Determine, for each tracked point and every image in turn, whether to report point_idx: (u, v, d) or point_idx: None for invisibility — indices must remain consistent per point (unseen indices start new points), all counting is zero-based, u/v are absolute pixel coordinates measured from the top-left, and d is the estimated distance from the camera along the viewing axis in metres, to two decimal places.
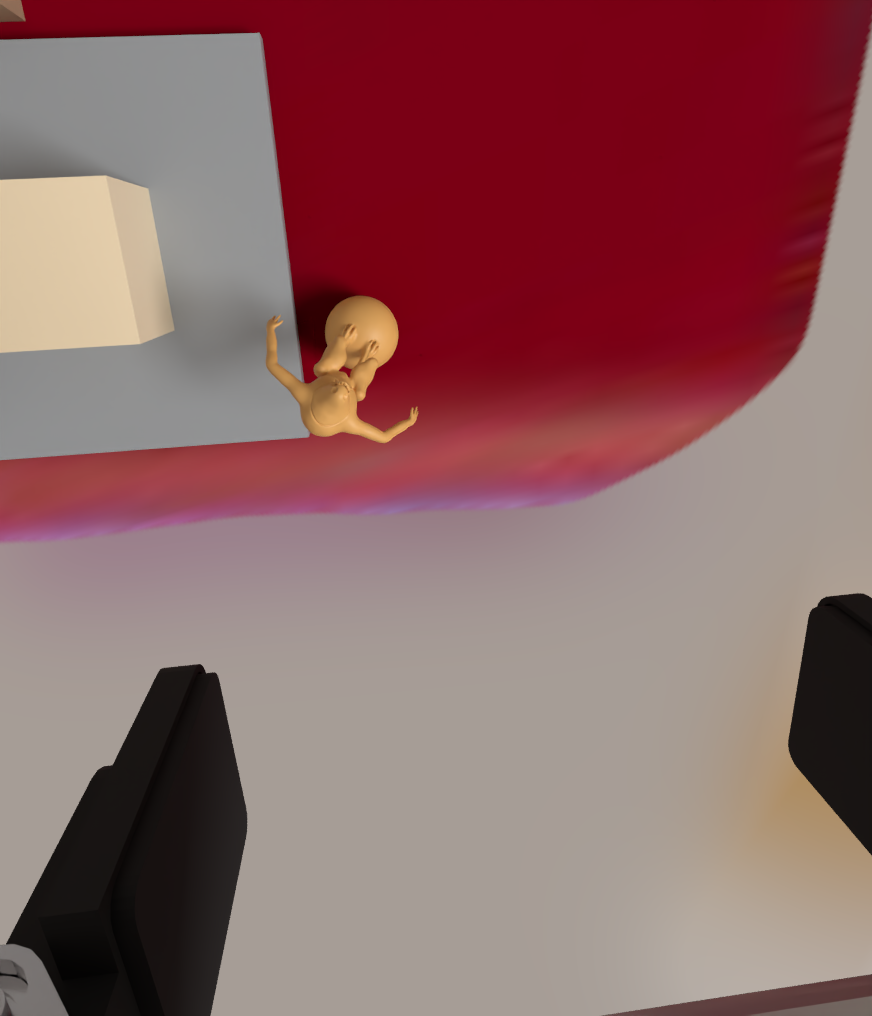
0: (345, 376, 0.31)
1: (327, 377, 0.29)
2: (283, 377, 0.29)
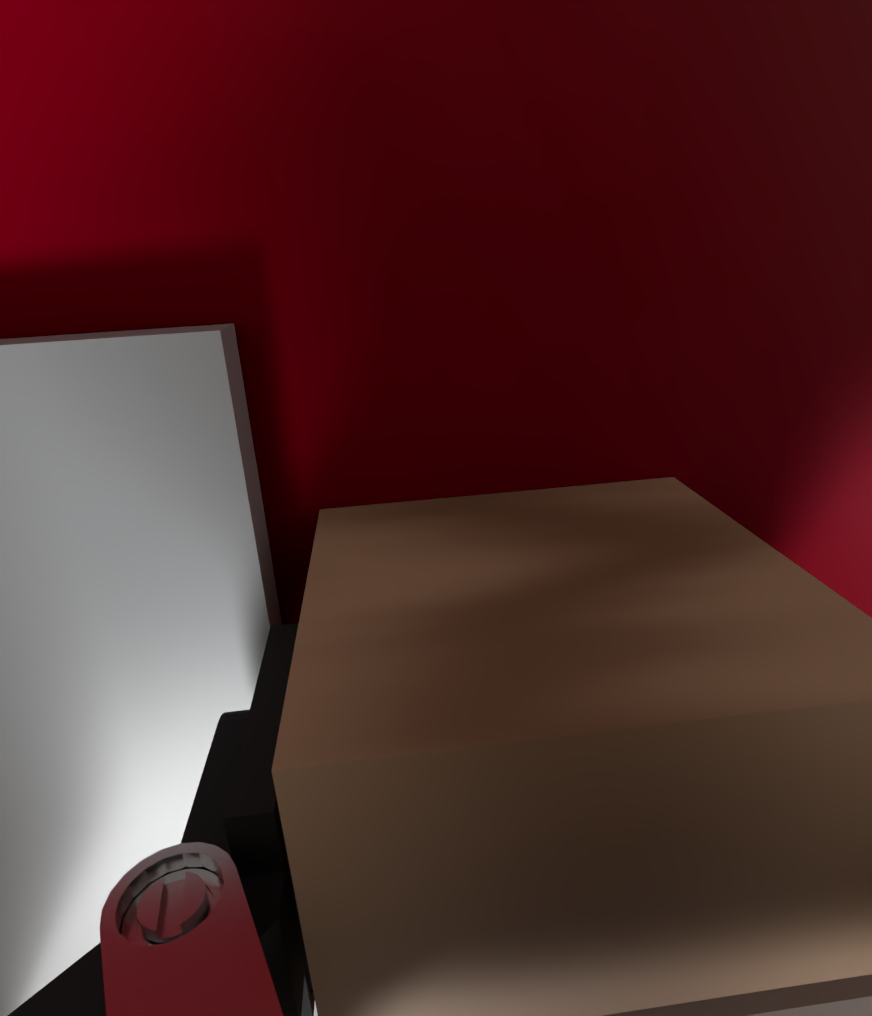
0: None
1: None
2: None
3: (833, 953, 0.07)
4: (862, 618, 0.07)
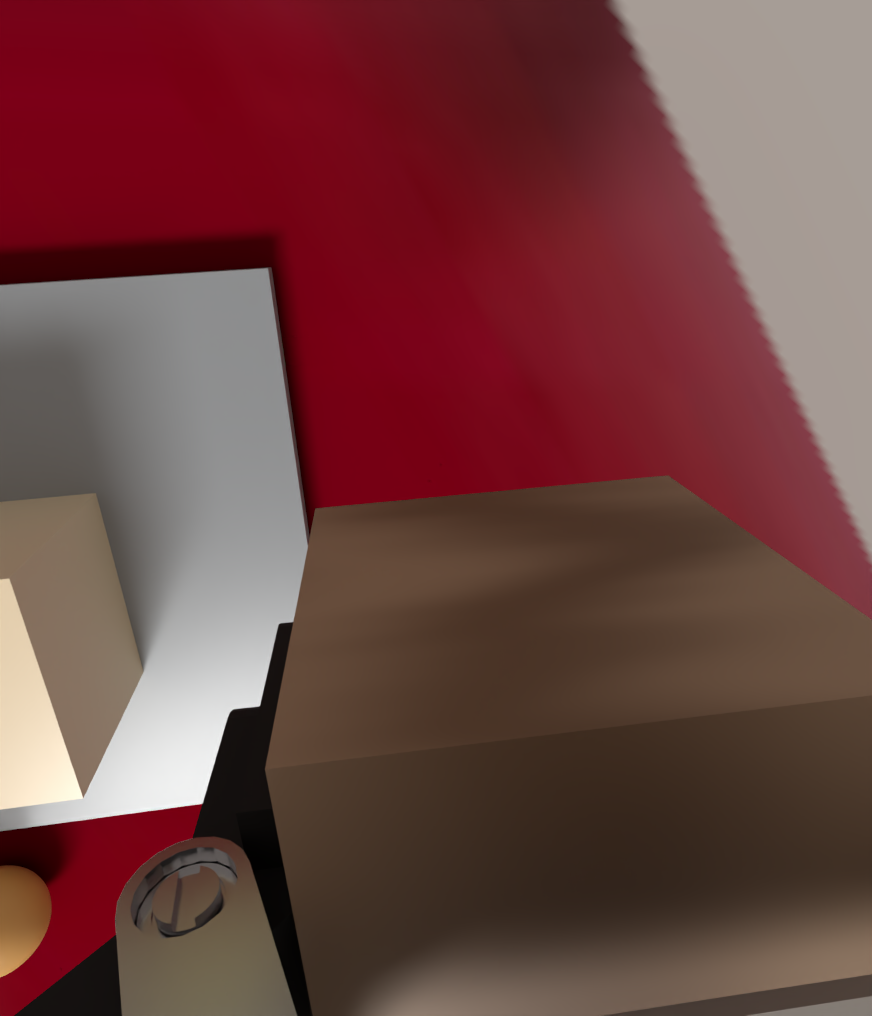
0: None
1: None
2: None
3: (828, 950, 0.07)
4: (855, 615, 0.07)
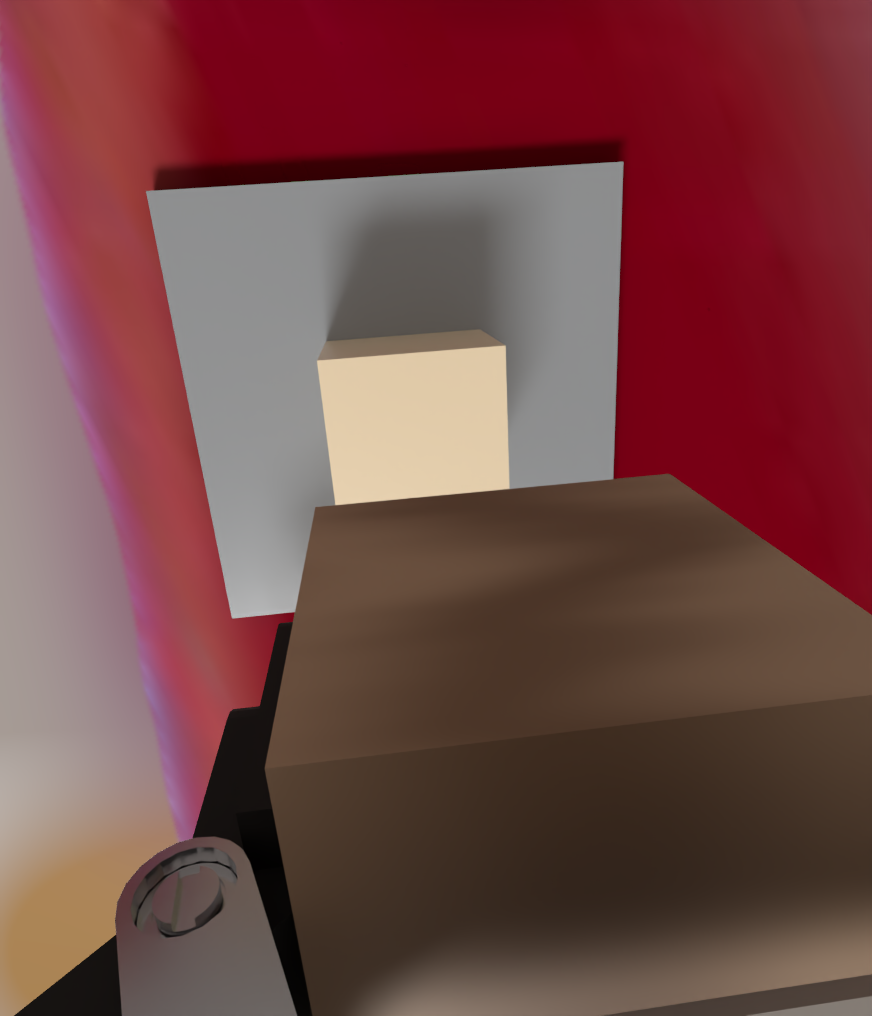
0: None
1: None
2: None
3: (832, 951, 0.07)
4: (859, 613, 0.07)
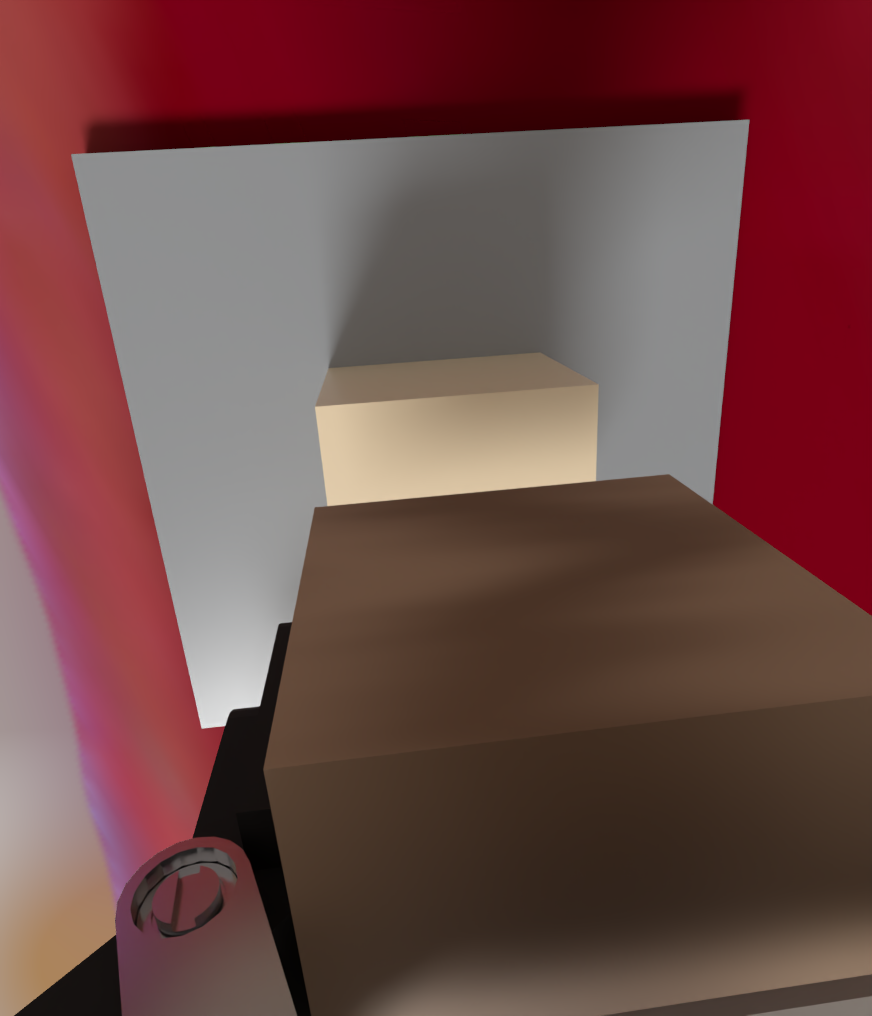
0: None
1: None
2: None
3: (832, 952, 0.07)
4: (860, 614, 0.07)
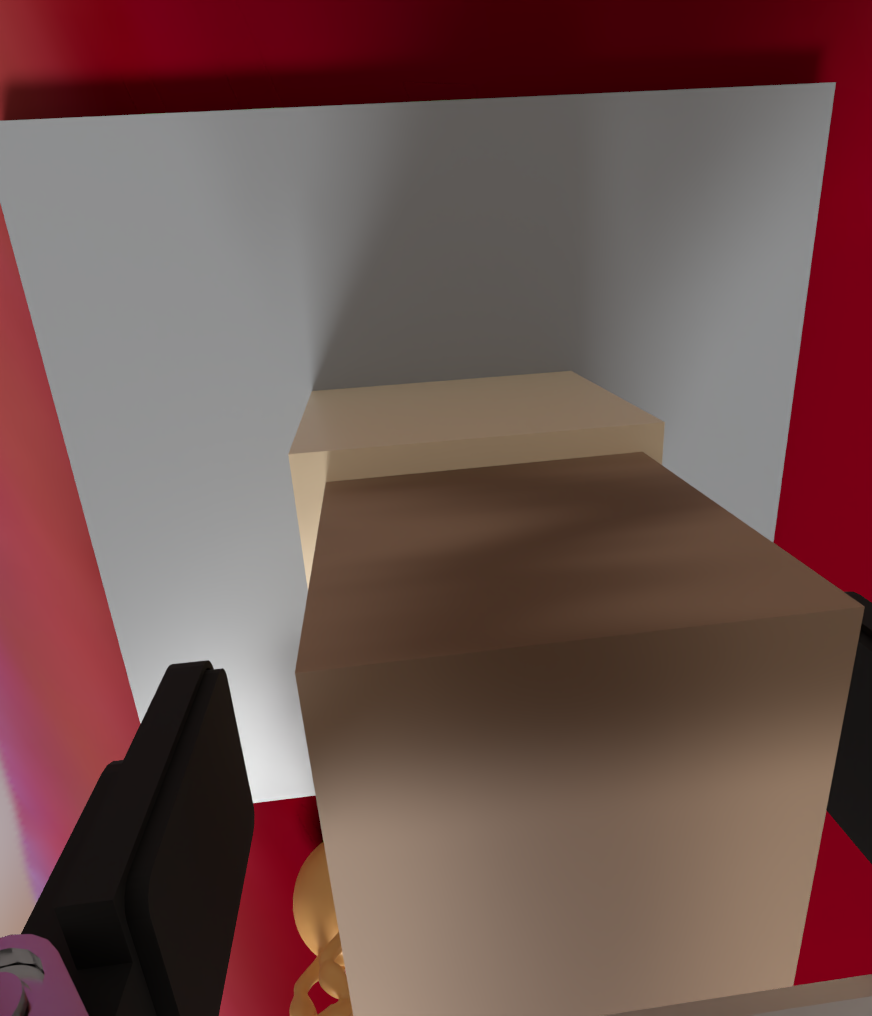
0: None
1: None
2: None
3: (765, 840, 0.08)
4: (788, 559, 0.08)
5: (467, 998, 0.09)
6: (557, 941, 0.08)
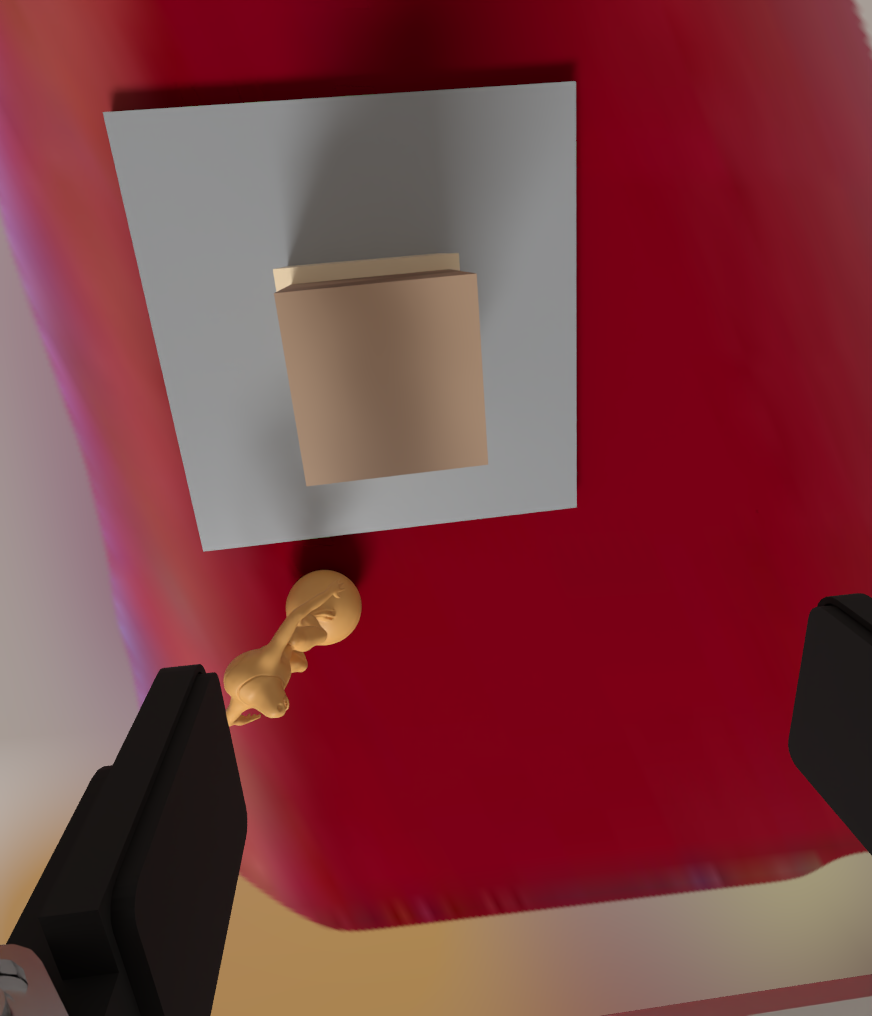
0: None
1: (289, 673, 0.27)
2: (285, 636, 0.27)
3: (460, 382, 0.21)
4: (467, 272, 0.21)
5: (348, 458, 0.21)
6: (382, 429, 0.21)
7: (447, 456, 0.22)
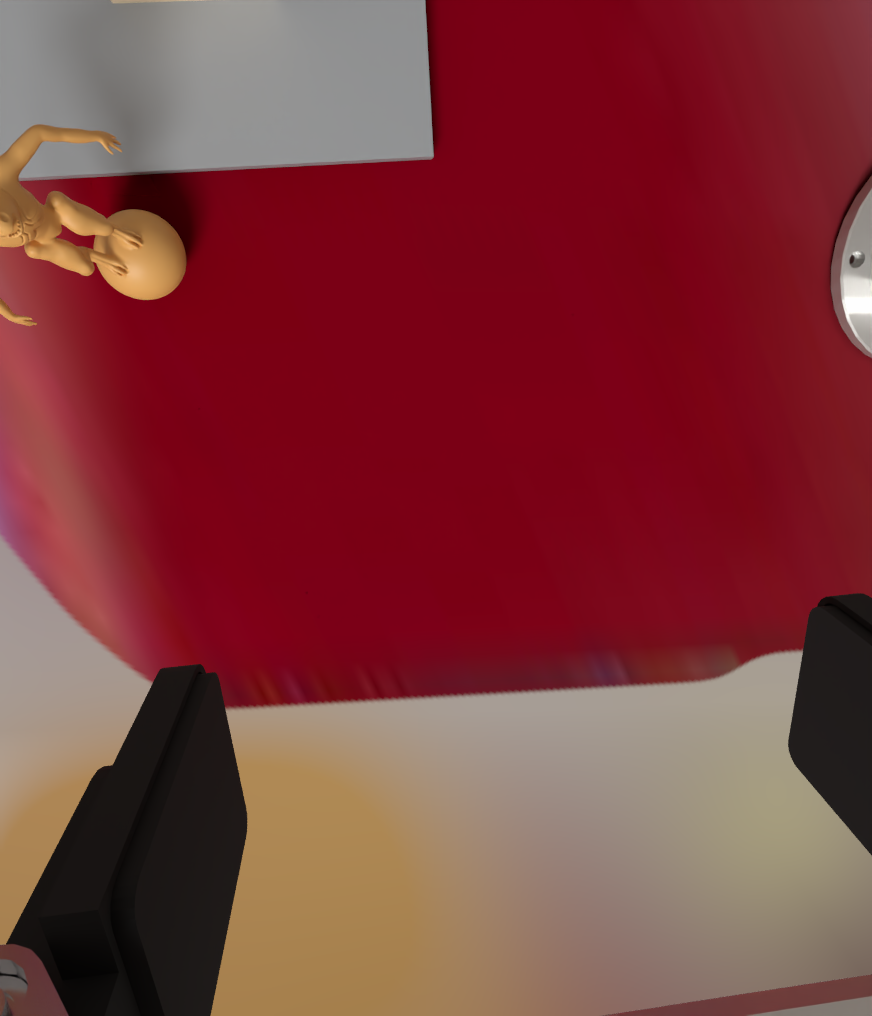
0: (52, 232, 0.25)
1: (33, 208, 0.23)
2: (19, 146, 0.22)
3: None
4: None
5: None
6: None
7: None
